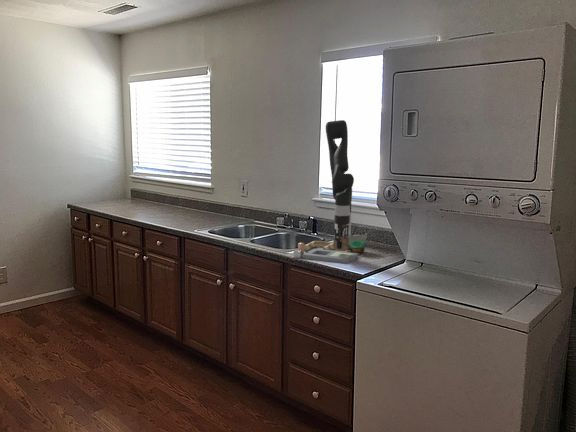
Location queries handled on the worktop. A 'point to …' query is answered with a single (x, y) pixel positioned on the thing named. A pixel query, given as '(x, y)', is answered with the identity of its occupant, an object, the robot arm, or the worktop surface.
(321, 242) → the tan curved piece
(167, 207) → the worktop surface
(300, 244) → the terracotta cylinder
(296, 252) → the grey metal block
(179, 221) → the worktop surface
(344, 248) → the walnut cube
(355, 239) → the food container
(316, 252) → the grey tray
